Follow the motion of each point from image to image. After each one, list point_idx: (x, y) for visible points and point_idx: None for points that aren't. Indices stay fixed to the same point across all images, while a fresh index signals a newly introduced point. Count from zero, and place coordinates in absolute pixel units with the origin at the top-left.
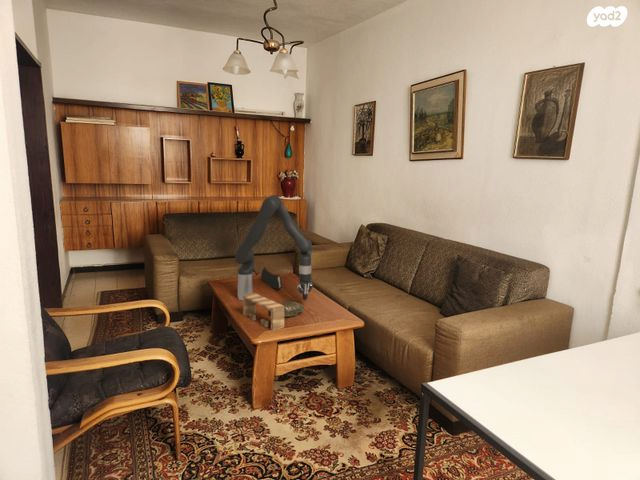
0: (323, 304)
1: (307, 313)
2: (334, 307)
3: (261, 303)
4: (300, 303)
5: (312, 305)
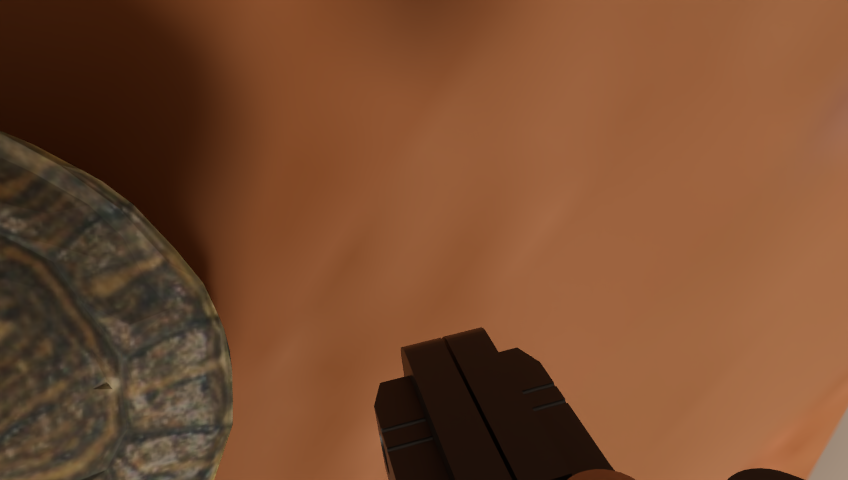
0: (828, 183)
1: (281, 460)
2: (822, 374)
3: None
4: (197, 456)
5: (641, 129)
